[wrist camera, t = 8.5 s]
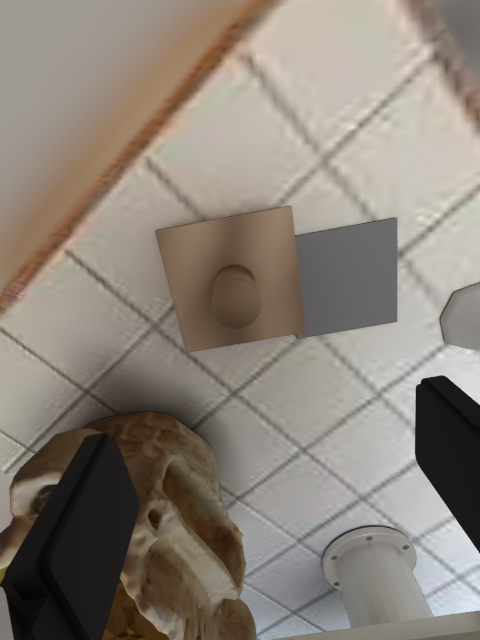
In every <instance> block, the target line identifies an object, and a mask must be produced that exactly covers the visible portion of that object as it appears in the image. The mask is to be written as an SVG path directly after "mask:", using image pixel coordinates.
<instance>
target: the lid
mask: <svg viewBox="0 0 480 640" xmlns="http://www.w3.org/2000/svg"><path fill="white" fill-rule="evenodd" d="M155 233H156V237H157V241H158V245H159V248H160V252H161V256H162V260H163V264H164V268H165V272H166V275H167V279H168V283H169V287H170V291H171V295H172V299H173V302H174V306H175V310H176V314H177V318H178V322H179V326H180V329H181V333H182V337H183V341H184V345H185V349H186V352H187V353H188V352H194V351H199V350H205V349H211V348H217V347H223V346H229V345H234V344H240V343H246V342H252V341H258V340H264V339H270V338H275V337H281V336H287V335H293V334H299V333H305V324H304V315H303V306H302V297H301V288H300V279H299V270H298V261H297V252H296V243H295V234H294V225H293V216H292V207H291V206H284V207H278V208H273V209H268V210H262V211H257V212H251V213H246V214H240V215H235V216H229V217H224V218H219V219H213V220H208V221H202V222H197V223H191V224H186V225H181V226H175V227H170V228H164V229H159V230H156V231H155Z"/></svg>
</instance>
